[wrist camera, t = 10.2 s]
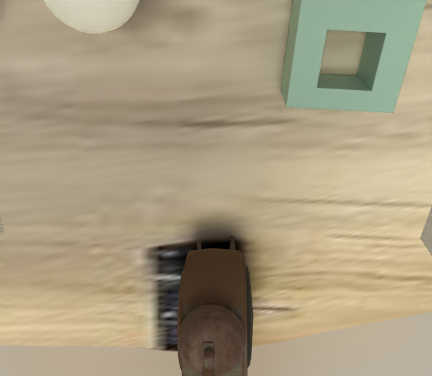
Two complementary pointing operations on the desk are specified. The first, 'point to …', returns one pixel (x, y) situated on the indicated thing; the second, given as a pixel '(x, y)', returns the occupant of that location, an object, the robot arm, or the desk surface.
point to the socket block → (370, 61)
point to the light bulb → (93, 13)
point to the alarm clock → (215, 313)
